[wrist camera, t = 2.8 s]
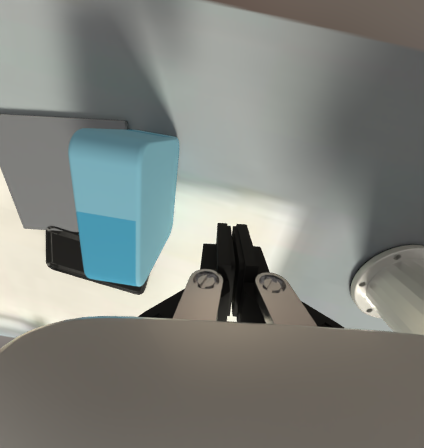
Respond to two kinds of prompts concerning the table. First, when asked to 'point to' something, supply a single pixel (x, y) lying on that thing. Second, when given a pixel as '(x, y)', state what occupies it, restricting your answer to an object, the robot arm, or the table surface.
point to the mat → (43, 167)
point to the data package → (123, 200)
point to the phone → (74, 258)
